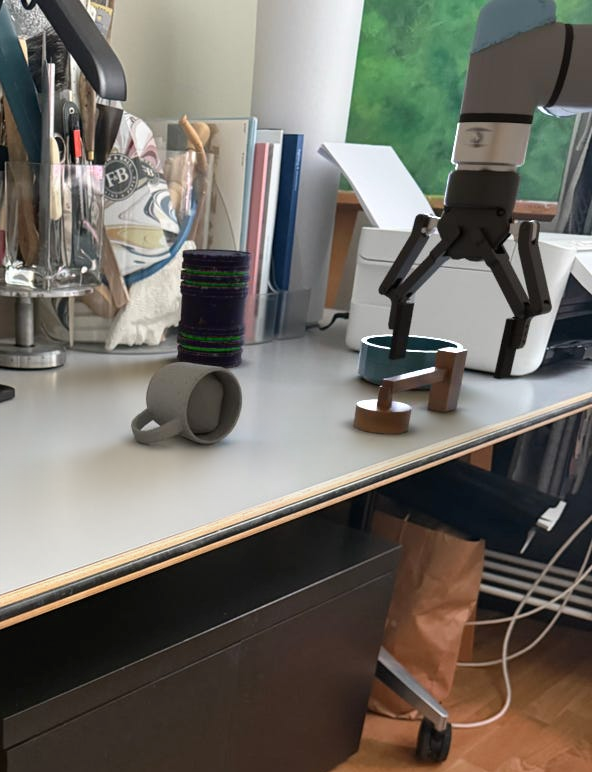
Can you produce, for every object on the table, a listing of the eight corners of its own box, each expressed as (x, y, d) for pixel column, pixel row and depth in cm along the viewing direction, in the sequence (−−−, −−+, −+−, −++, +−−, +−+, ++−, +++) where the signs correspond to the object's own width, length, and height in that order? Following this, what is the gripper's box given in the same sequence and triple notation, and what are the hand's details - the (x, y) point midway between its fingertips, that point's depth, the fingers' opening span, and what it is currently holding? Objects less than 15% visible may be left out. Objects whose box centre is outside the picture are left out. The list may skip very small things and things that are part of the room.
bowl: (462, 378, 131) (470, 341, 129) (446, 395, 121) (453, 355, 119) (369, 367, 137) (374, 332, 134) (345, 383, 126) (350, 345, 124)
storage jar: (167, 364, 135) (173, 252, 128) (184, 353, 143) (190, 248, 136) (235, 370, 132) (245, 256, 125) (248, 358, 140) (258, 251, 134)
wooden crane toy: (425, 402, 117) (435, 344, 113) (470, 411, 113) (482, 352, 110) (343, 426, 105) (351, 362, 102) (390, 436, 101) (400, 371, 98)
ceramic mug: (192, 422, 104) (196, 351, 101) (241, 439, 98) (246, 364, 95) (114, 435, 99) (115, 361, 96) (160, 454, 93) (163, 376, 90)
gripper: (367, 164, 107) (340, 354, 117) (588, 172, 92) (536, 390, 101) (401, 166, 112) (373, 348, 122) (616, 173, 96) (564, 381, 106)
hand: (447, 367), depth 112 cm, fingers open, 13 cm apart
